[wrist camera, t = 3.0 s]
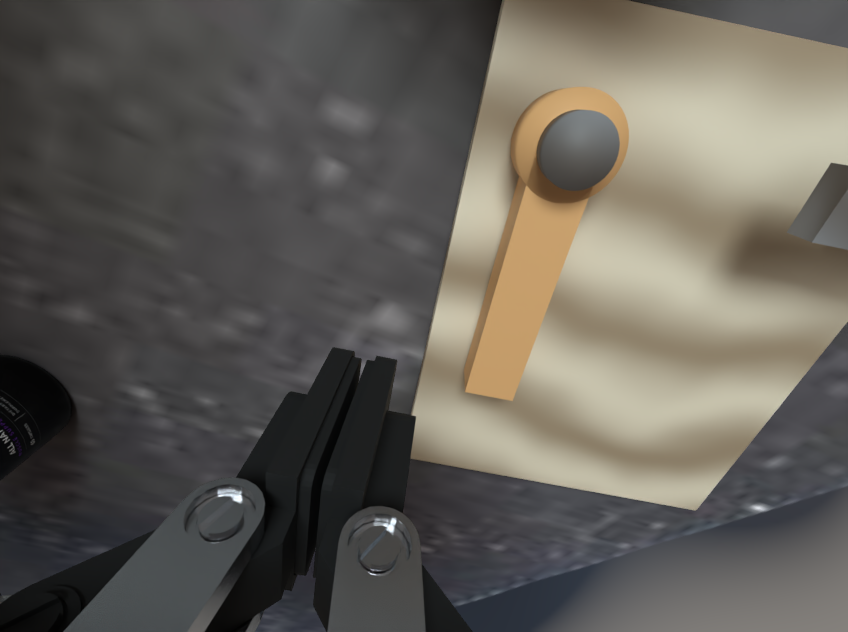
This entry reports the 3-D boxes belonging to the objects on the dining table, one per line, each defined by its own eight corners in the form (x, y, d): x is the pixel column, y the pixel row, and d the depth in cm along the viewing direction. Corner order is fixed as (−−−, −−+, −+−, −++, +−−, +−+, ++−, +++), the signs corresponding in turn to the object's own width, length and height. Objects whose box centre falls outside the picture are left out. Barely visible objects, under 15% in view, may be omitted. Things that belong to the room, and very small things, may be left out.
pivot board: (505, -15, 16) (530, -71, 11) (986, 89, 16) (1230, 85, 11) (405, 440, 28) (393, 516, 23) (684, 491, 28) (735, 577, 23)
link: (527, 78, 16) (536, 75, 14) (626, 99, 16) (648, 99, 14) (450, 366, 22) (450, 389, 21) (521, 379, 22) (526, 403, 21)
